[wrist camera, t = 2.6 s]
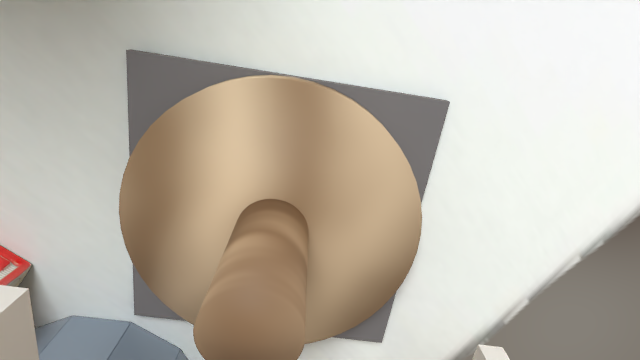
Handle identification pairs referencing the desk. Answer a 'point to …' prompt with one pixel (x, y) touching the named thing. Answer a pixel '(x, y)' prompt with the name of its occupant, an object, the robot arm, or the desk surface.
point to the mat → (193, 75)
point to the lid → (269, 215)
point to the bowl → (101, 341)
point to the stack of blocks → (12, 268)
